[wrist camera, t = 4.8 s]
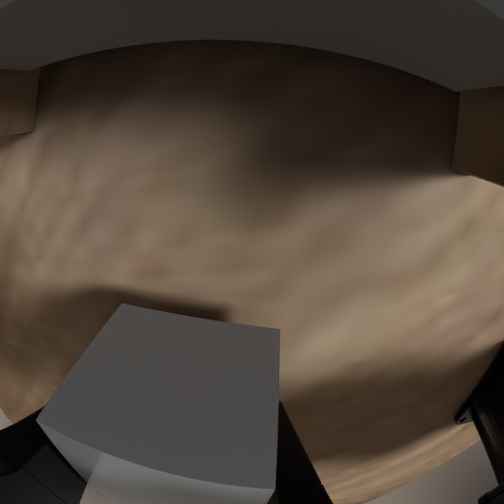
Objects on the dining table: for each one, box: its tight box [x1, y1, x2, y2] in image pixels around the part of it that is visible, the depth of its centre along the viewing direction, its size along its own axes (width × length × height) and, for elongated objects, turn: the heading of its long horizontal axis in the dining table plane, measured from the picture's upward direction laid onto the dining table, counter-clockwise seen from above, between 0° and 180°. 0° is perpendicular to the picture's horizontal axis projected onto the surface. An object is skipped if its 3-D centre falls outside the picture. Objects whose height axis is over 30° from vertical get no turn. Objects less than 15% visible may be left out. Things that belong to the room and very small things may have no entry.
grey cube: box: [36, 303, 280, 504], centre depth 7 cm, size 5×5×5 cm
